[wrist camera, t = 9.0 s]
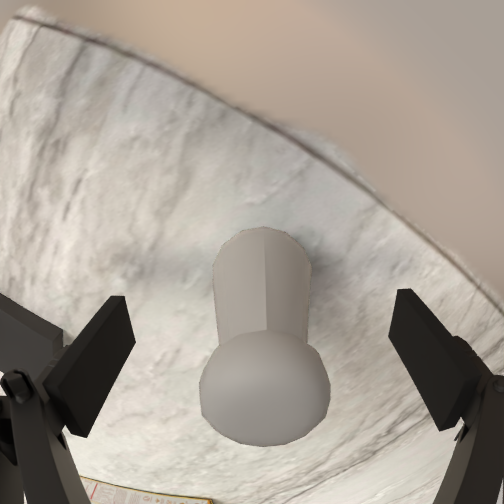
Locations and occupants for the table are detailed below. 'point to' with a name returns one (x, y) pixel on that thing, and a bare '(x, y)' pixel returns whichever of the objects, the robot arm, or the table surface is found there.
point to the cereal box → (130, 495)
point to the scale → (26, 339)
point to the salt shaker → (263, 343)
